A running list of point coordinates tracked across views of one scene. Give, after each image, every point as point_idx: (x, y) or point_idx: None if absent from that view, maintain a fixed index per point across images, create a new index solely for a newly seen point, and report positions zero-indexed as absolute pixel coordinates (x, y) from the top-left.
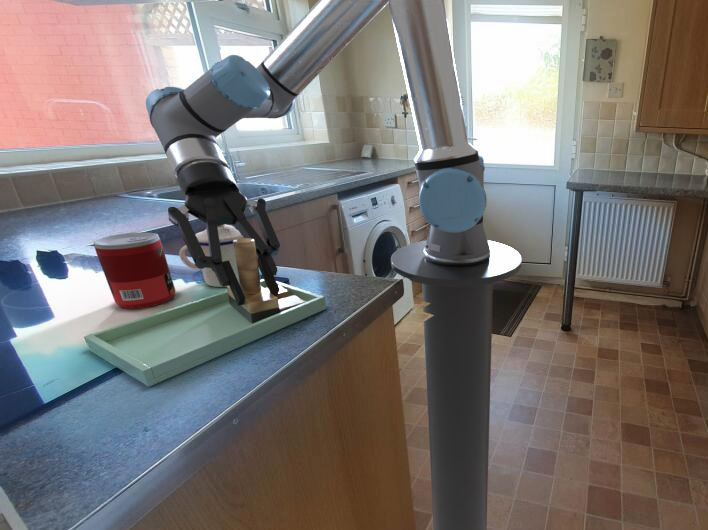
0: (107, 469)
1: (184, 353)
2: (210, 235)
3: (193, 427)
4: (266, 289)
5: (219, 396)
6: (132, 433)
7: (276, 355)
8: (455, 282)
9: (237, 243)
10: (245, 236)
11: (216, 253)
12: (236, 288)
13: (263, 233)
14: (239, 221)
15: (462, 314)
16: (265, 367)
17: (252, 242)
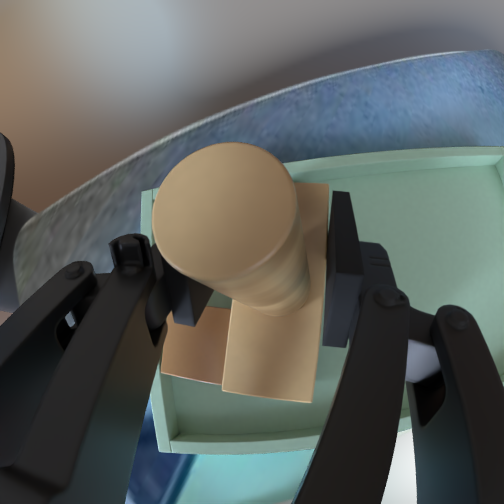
0: (495, 72)
1: (464, 148)
2: (382, 457)
3: (444, 60)
4: (204, 367)
5: (421, 79)
6: (491, 94)
7: (332, 103)
8: (8, 148)
9: (284, 167)
10: (124, 432)
11: (382, 325)
12: (347, 206)
13: (40, 398)
14: (62, 486)
15: (28, 211)
16: (358, 88)
17: (194, 155)
